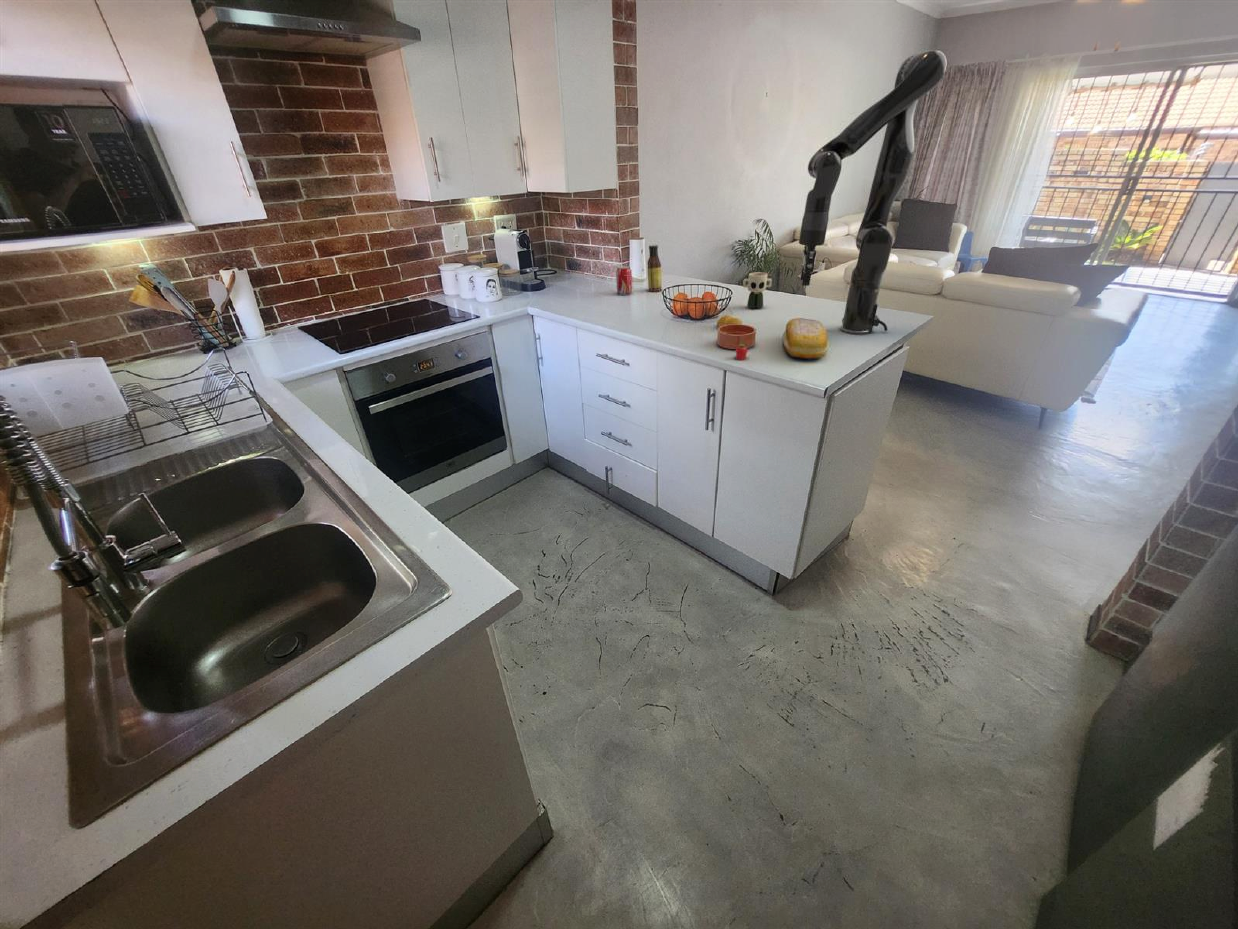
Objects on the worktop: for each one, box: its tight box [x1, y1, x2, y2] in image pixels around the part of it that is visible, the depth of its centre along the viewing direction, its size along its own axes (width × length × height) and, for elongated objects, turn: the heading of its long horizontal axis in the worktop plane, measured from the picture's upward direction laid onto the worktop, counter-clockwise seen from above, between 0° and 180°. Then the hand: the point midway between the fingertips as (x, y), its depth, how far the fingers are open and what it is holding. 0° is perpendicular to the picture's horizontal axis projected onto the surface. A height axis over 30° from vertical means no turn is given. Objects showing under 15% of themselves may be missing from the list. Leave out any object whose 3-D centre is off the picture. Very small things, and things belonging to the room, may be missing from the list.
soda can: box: [615, 265, 633, 296], centre depth 232 cm, size 7×7×12 cm
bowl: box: [716, 323, 757, 350], centre depth 166 cm, size 12×12×5 cm
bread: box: [782, 317, 829, 360], centre depth 159 cm, size 13×26×8 cm, turn 169°
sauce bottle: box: [647, 244, 663, 293], centre depth 233 cm, size 7×6×20 cm
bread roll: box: [716, 315, 743, 328], centre depth 183 cm, size 8×9×4 cm
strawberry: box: [735, 344, 748, 361], centre depth 155 cm, size 3×3×4 cm
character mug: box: [742, 271, 773, 309], centre depth 201 cm, size 11×7×13 cm, turn 79°
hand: (804, 282), depth 163 cm, fingers open, 8 cm apart
